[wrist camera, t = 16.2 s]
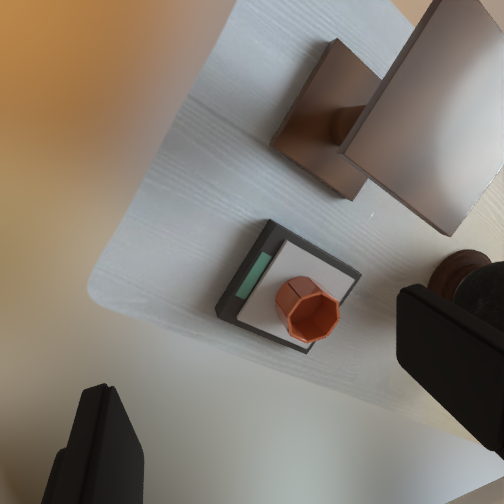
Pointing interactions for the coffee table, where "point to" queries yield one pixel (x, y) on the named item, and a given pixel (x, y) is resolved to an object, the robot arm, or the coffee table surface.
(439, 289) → the black orb ornament
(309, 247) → the scale
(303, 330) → the bowl
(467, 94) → the stand
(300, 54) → the coffee table surface
